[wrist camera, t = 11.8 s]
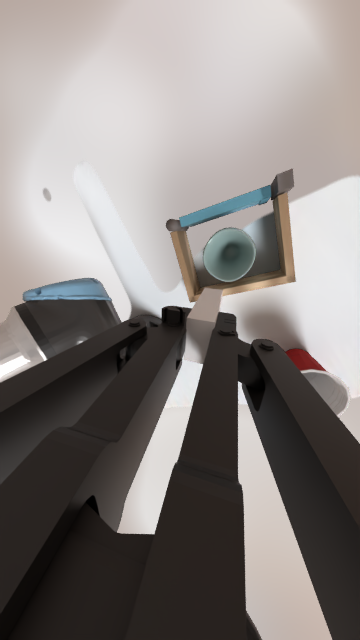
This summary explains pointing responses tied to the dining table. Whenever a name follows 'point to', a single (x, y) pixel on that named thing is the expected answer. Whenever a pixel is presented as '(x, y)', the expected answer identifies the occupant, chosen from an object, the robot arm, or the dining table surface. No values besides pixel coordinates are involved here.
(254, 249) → the cup
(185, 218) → the blue flat rectangular panel
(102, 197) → the dining table surface
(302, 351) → the plastic cup
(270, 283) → the wooden u-shaped tray
